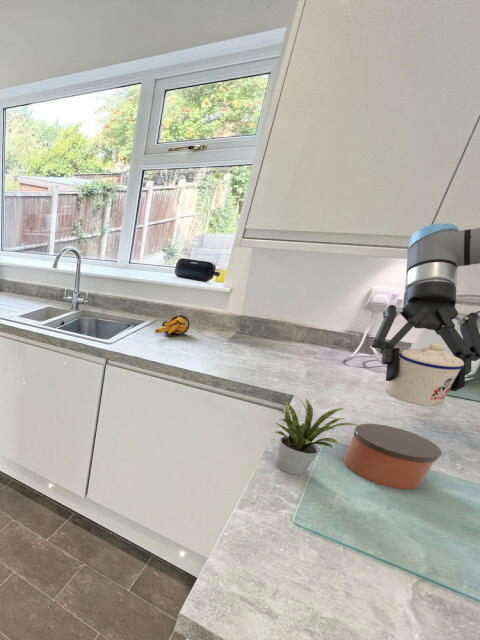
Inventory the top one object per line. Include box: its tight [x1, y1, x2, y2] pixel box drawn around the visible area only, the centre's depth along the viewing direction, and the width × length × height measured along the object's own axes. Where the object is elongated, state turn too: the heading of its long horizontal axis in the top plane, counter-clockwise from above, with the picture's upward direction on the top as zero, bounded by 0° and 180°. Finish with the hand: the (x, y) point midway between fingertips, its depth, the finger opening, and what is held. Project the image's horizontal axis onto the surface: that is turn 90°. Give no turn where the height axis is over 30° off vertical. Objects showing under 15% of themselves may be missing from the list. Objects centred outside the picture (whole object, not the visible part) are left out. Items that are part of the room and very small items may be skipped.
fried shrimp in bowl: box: [154, 314, 191, 337], centre depth 178 cm, size 9×11×18 cm
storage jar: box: [342, 423, 442, 490], centre depth 91 cm, size 14×14×8 cm
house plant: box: [273, 398, 363, 476], centre depth 90 cm, size 14×14×16 cm
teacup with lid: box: [384, 342, 464, 407], centre depth 85 cm, size 12×9×12 cm
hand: (423, 383), depth 83 cm, fingers closed on teacup with lid, 9 cm apart
